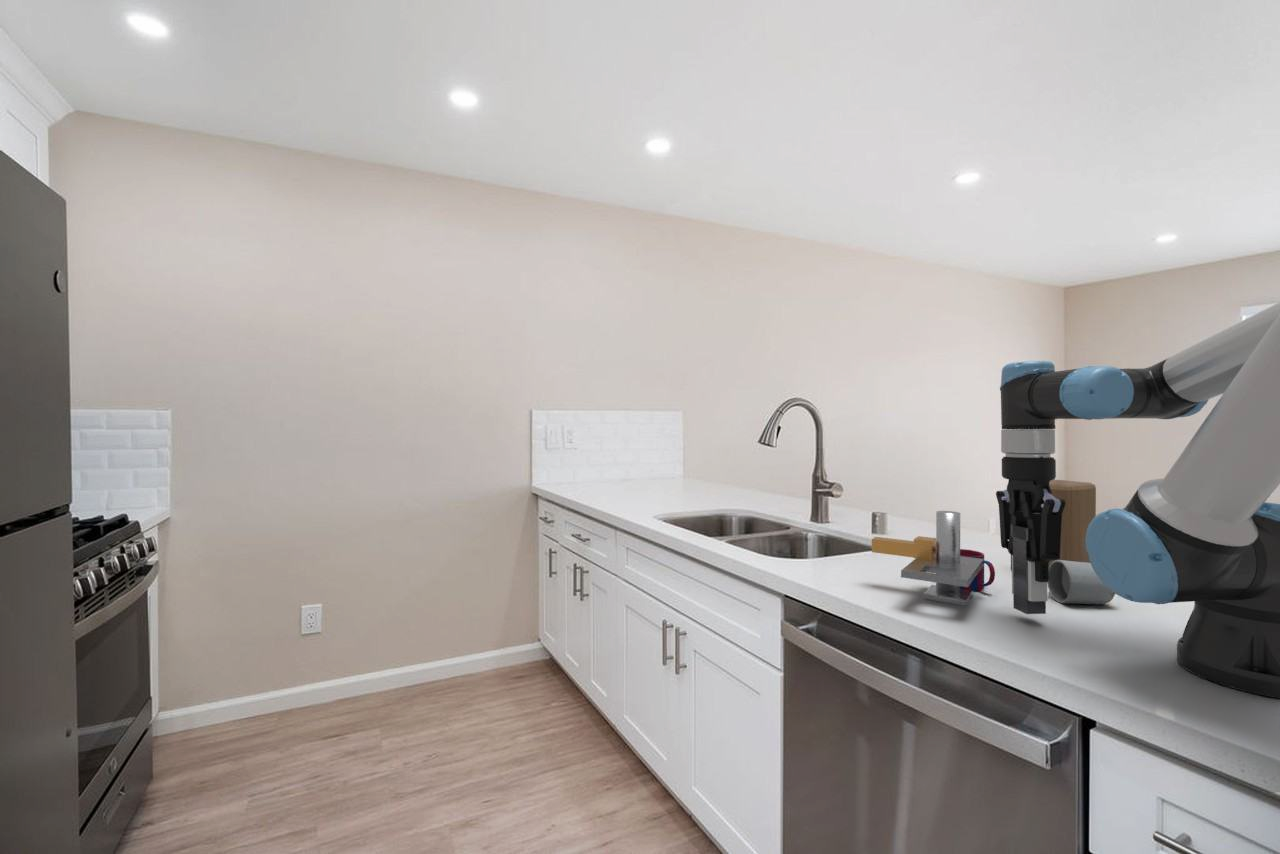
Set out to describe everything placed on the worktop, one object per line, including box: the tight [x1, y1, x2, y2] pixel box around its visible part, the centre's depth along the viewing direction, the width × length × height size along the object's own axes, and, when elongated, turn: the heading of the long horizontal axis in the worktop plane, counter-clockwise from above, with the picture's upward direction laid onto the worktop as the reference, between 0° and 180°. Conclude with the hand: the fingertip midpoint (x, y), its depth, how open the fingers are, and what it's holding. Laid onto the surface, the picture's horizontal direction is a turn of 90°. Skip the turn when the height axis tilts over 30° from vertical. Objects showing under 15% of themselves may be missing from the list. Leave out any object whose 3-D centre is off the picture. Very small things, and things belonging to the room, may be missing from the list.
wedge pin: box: [1011, 524, 1047, 615], centre depth 99 cm, size 4×3×14 cm
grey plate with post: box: [871, 510, 985, 607], centre depth 112 cm, size 18×19×16 cm
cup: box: [960, 548, 996, 592], centre depth 118 cm, size 7×10×7 cm
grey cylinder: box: [1047, 560, 1116, 605], centre depth 110 cm, size 11×8×8 cm
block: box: [1033, 479, 1097, 566], centre depth 126 cm, size 10×10×20 cm
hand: (1029, 596), depth 99 cm, fingers closed on wedge pin, 3 cm apart
